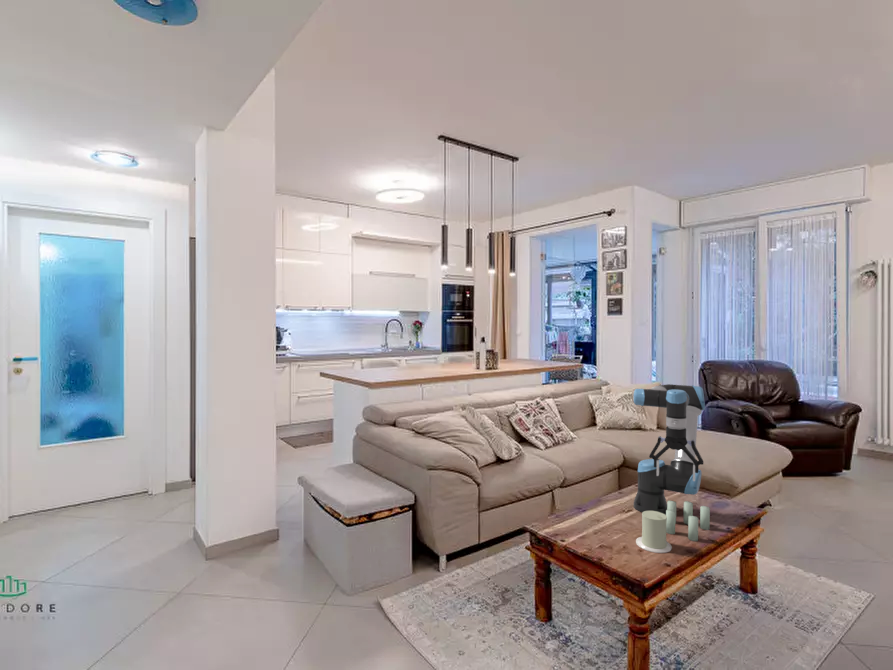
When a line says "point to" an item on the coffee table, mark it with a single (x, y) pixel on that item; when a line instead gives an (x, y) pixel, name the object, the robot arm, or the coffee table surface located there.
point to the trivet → (665, 550)
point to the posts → (688, 519)
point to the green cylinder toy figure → (654, 529)
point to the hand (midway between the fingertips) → (675, 477)
